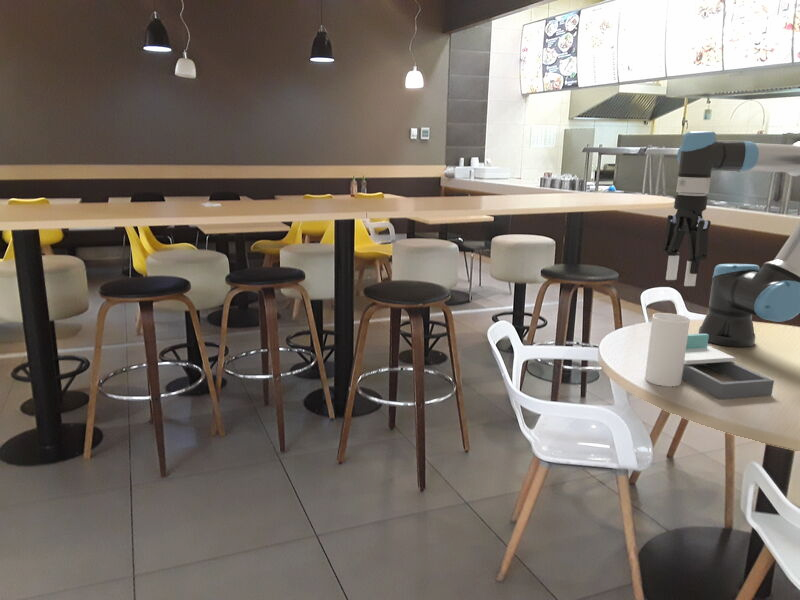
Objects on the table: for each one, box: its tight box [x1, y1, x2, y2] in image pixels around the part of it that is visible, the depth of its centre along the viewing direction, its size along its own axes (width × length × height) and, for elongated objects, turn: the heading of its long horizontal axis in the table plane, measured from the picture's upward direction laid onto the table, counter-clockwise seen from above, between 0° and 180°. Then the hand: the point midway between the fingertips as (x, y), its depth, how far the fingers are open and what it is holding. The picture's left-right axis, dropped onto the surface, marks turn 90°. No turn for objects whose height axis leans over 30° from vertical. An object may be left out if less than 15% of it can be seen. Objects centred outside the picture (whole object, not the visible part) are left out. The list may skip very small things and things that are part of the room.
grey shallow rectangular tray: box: [682, 361, 775, 400], centre depth 153 cm, size 14×22×4 cm, turn 13°
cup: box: [644, 312, 691, 388], centre depth 151 cm, size 8×8×16 cm
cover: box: [684, 333, 736, 365], centre depth 158 cm, size 14×9×4 cm
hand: (680, 282), depth 164 cm, fingers open, 7 cm apart
